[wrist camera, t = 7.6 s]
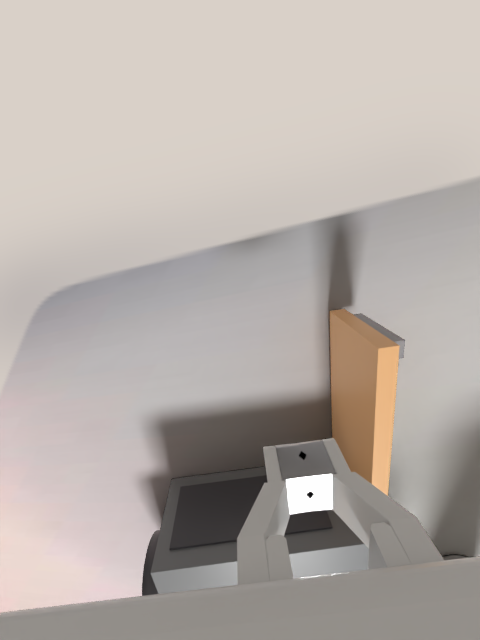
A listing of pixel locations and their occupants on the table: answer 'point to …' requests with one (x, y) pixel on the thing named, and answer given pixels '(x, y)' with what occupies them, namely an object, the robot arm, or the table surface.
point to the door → (364, 393)
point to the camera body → (236, 535)
